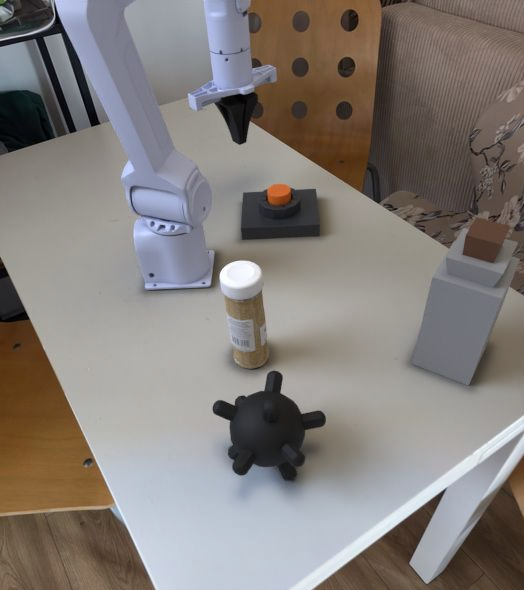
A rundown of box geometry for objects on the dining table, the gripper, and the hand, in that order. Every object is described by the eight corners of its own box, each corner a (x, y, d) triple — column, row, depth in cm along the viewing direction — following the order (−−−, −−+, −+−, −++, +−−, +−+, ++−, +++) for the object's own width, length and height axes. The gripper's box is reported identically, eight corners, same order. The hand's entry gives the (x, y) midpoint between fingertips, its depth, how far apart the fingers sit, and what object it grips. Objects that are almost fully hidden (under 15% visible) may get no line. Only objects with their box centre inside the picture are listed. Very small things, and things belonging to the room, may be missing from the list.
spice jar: (277, 355, 64) (271, 270, 54) (250, 376, 62) (239, 293, 52) (251, 337, 66) (241, 253, 56) (225, 357, 64) (209, 273, 54)
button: (267, 207, 80) (267, 197, 78) (267, 194, 82) (267, 184, 81) (291, 205, 79) (290, 195, 78) (290, 193, 82) (290, 183, 80)
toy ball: (295, 368, 59) (364, 422, 50) (253, 447, 60) (313, 513, 51) (221, 344, 52) (286, 402, 43) (177, 433, 54) (230, 507, 45)
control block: (242, 240, 80) (239, 217, 77) (244, 203, 87) (242, 182, 84) (319, 236, 80) (320, 214, 77) (315, 200, 86) (316, 178, 83)
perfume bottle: (468, 385, 59) (516, 260, 46) (412, 363, 62) (441, 239, 48) (486, 347, 63) (534, 221, 49) (431, 328, 65) (464, 203, 52)
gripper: (202, 69, 67) (215, 167, 77) (288, 39, 72) (290, 134, 82) (174, 56, 71) (190, 150, 81) (258, 28, 76) (263, 120, 86)
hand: (239, 141), depth 82 cm, fingers closed
